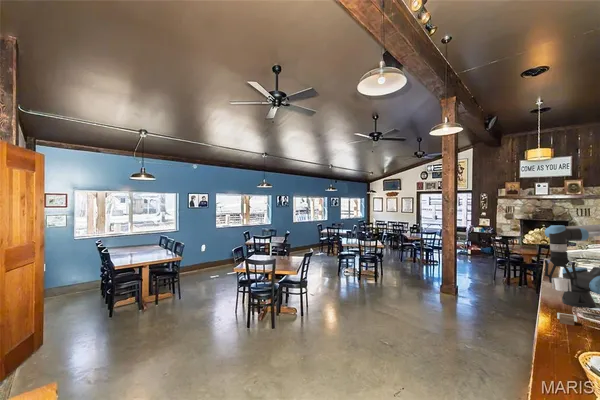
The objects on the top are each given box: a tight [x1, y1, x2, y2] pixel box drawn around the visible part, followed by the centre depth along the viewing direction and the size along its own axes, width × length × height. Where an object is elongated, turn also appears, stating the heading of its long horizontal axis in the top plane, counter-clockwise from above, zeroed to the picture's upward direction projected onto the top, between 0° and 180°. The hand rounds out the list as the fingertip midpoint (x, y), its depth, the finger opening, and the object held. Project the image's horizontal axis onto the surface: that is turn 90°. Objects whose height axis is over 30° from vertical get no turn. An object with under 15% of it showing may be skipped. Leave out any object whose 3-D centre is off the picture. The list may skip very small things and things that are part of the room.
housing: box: [559, 313, 575, 326], centre depth 149 cm, size 6×6×4 cm
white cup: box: [552, 276, 569, 292], centre depth 165 cm, size 7×7×7 cm
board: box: [556, 312, 578, 322], centre depth 156 cm, size 11×8×1 cm
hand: (561, 289), depth 165 cm, fingers closed on white cup, 7 cm apart
